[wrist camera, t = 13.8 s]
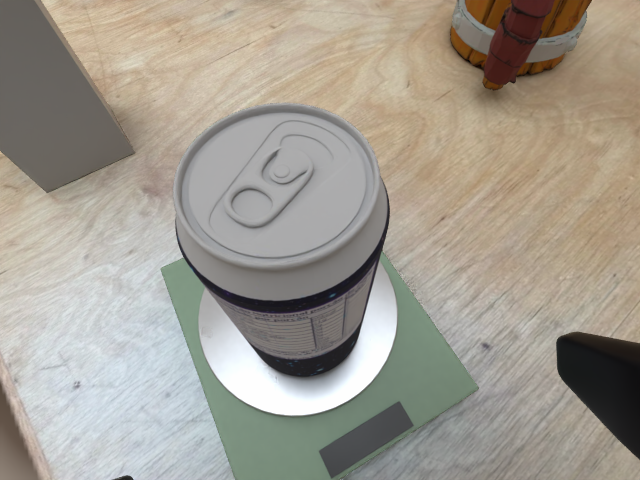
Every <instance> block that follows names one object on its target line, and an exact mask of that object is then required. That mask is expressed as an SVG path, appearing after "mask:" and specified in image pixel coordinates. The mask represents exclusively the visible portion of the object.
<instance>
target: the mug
mask: <svg viewBox="0 0 640 480" xmlns="http://www.w3.org/2000/svg"><path fill="white" fill-rule="evenodd" d="M591 1H592V0H457V3H456V6H455V9H454V12H453V21H452V23H453V25H452V28H451V32H450V35H451V42H452V44H453V47H454V48H455V49H456V50H457V51H458V53H459V54H460V55H461V56H462V57H463V58H464V59H468V60H470V62H471V63H472V64H473V65H475V66H477V65H481V67H482V68H483V69H484V78H483V84H484V86H485V88H488V89H492V90H498V89H501V88H502V87H503V85H504V84H507V83H508V82H512V83H515V82H516V76H519V75H525V74H526V72H527V71H528V72H529V73H530V74H536V73H540V72H543V70H544V68H545V69H552V68H553V67H555V66H556V65H557V64H558V63H560V62H561V61H562V59H563V57H564V55H565V53H566V52H569V51H572V50H573V49H574V47H575V46H576V43H577V39H578V37H579V35H580V34H581V32H582V30H583V28H584V26H585V23H586V21H587V20H586V18H587V12H586V9H587V8H588V6H589V4H590V3H591Z"/></svg>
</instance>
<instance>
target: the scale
mask: <svg viewBox="0 0 640 480" xmlns="http://www.w3.org/2000/svg"><path fill="white" fill-rule="evenodd" d="M161 272H162V275H163V277H164V280H165V283H166V286H167V289H168V291H169V294H170V297H171V300H172V303H173V306H174V308H175V311H176V314H177V317H178V320H179V322H180V325H181V328H182V331H183V334H184V337H185V339H186V342H187V345H188V348H189V351H190V353H191V356H192V359H193V362H194V365H195V368H196V370H197V373H198V376H199V379H200V382H201V384H202V387H203V390H204V393H205V396H206V398H207V401H208V404H209V407H210V410H211V413H212V415H213V418H214V421H215V424H216V427H217V429H218V432H219V435H220V438H221V441H222V444H223V446H224V449H225V452H226V455H227V458H228V460H229V463H230V466H231V469H232V472H233V475H234V477H235V480H339V479H341V478H342V477H344V476H345V475H347V474H349V473H350V472H352V471H353V470H355V469H356V468H358V467H359V466H361V465H362V464H364V463H366V462H367V461H369V460H370V459H372V458H373V457H375V456H376V455H378V454H379V453H381V452H383V451H384V450H386V449H387V448H389V447H390V446H392V445H393V444H395V443H396V442H398V441H400V440H401V439H403V438H404V437H406V436H407V435H409V434H410V433H412V432H413V431H415V430H417V429H418V428H420V427H421V426H423V425H424V424H426V423H427V422H429V421H430V420H432V419H434V418H435V417H437V416H438V415H440V414H441V413H443V412H444V411H446V410H447V409H449V408H451V407H452V406H454V405H455V404H457V403H458V402H460V401H461V400H463V399H464V398H466V397H468V396H469V395H471V394H472V393H474V392H475V391H477V390H478V389H479V387H478V386H477V384H476V383H475V382H474V380H473V379H472V377H471V376H470V374H469V373H468V372H467V370H466V369H465V367H464V366H463V365H462V363H461V362H460V360H459V359H458V357H457V356H456V355H455V353H454V352H453V350H452V349H451V348H450V346H449V345H448V343H447V342H446V341H445V339H444V338H443V336H442V335H441V333H440V332H439V331H438V329H437V328H436V326H435V325H434V324H433V322H432V321H431V319H430V318H429V316H428V315H427V314H426V312H425V311H424V309H423V308H422V307H421V305H420V304H419V302H418V301H417V299H416V298H415V297H414V295H413V294H412V292H411V291H410V290H409V288H408V287H407V285H406V284H405V282H404V281H403V280H402V278H401V277H400V275H399V274H398V273H397V271H396V270H395V268H394V267H393V265H392V264H391V263H390V261H389V260H388V258H387V257H386V256H385V254H384V253H383V251H382V252H381V256H380V260H379V263H378V267H377V271H376V275H375V278H374V282H373V286H372V289H371V293H370V297H369V301H368V304H367V308H366V312H365V316H364V319H363V323H362V327H361V330H360V334H359V337H358V340H357V342H356V344H355V346H354V348H353V350H352V351H351V353H350V354H349V355H348V356H347V358H346V359H345V360H344V361H343V362H341V363H340V364H339V365H338V366H336V367H335V368H333V369H331V370H329V371H327V372H325V373H323V374H319V375H315V376H309V377H296V376H290V375H286V374H283V373H281V372H279V371H277V370H275V369H273V368H271V367H270V366H269V365H267V364H266V363H265V362H264V361H263V360H262V359H261V358H260V357H259V355H258V354H257V353H256V352H255V350H254V349H253V348H252V347H251V345H250V344H249V343H248V341H247V340H246V339H245V338H244V336H243V335H242V334H241V332H240V331H239V330H238V329H237V327H236V326H235V325H234V323H233V322H232V321H231V320H230V318H229V317H228V316H227V314H226V313H225V312H224V311H223V309H222V308H221V307H220V305H219V304H218V303H217V302H216V300H215V299H214V298H213V296H212V295H211V294H210V293H209V291H208V290H207V289H206V287H205V286H204V285H203V284H202V282H201V281H200V280H199V278H198V277H197V276H196V275H195V273H194V272H193V271H192V269H191V268H190V267H189V265H188V264H187V262H186V260H185V259H184V258H182V259H180V260H178V261H176V262H173V263H171V264H169V265H167V266H165V267H162V268H161Z"/></svg>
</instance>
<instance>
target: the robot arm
mask: <svg viewBox="0 0 640 480" xmlns="http://www.w3.org/2000/svg"><path fill="white" fill-rule="evenodd" d="M556 349H557V369H558V373H559V375H560V377H561V379H562V380H563V381H564V382H565V384H566V385H567V386H568V387H569V388H570V389H571V390H572V391H573V392H574V393H575V394H576V395H577V396H578V397H579V398H580V399H581V401H582V402H583V403H584V404H585V405H586V406H587V407H588V408H589V409H590V410H591V411H592V412H593V413H594V414H595V415H596V417H597V418H598V419H599V420H600V421H601V422H602V423H603V424H604V425H605V426H606V427H607V428H608V429H609V430H610V431H611V432H612V434H613V435H614V436H615V437H616V438H617V439H618V440H619V441H620V442H621V443H622V444H623V445H624V446H626V447H627V448H628V449H629V450H630V451H631V452H632V453H633V454H634V455H635V456H636V457H637V458H638V459H639V460H640V343H635V342H630V341H624V340H619V339H614V338H609V337H603V336H598V335H593V334H587V333H582V332H572V333H569V334H566V335H563V336H560V337H559V338H558V339H557V342H556ZM113 480H133V478H132V477H131V476H128V475H126V476H122V477H119V478H116V479H113Z"/></svg>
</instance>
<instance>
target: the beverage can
mask: <svg viewBox="0 0 640 480" xmlns="http://www.w3.org/2000/svg"><path fill="white" fill-rule="evenodd" d="M173 200H174V206H175V210H176V220H175V223H176V236H177V240H178V244H179V247H180V250H181V252H182V255H183V257H184V259H185V260H186V262H187V264H188V265H189V267H190V268H191V269H192V271H193V272H194V273H195V275H196V276H197V277H198V278H199V280H200V281H201V282H202V284H203V285H204V286H205V287H206V289H207V290H208V291H209V293H210V294H211V295H212V296H213V298H214V299H215V300H216V302H217V303H218V304H219V305H220V307H221V308H222V309H223V311H224V312H225V313H226V314H227V316H228V317H229V318H230V320H231V321H232V322H233V323H234V325H235V326H236V327H237V329H238V330H239V331H240V332H241V334H242V335H243V336H244V338H245V339H246V340H247V341H248V343H249V344H250V345H251V347H252V348H253V349H254V350H255V352H256V353H257V354H258V355H259V357H260V358H261V359H262V360H263V361H264V362H265V363H266V364H267V365H269V366H270V367H271V368H273V369H275V370H277V371H279V372H281V373H283V374H286V375H290V376H296V377H309V376H315V375H319V374H323V373H325V372H327V371H329V370H331V369H333V368H335V367H336V366H338V365H339V364H340V363H341V362H343V361H344V360H345V359H346V358H347V356H348V355H349V354H350V353H351V351H352V350H353V348H354V346H355V344H356V342H357V340H358V337H359V334H360V330H361V327H362V323H363V319H364V316H365V312H366V308H367V304H368V301H369V297H370V293H371V289H372V286H373V282H374V278H375V275H376V271H377V267H378V263H379V260H380V256H381V252H382V248H383V245H384V241H385V237H386V234H387V229H388V225H389V216H390V208H389V199H388V194H387V190H386V187H385V185H384V182H383V180H382V178H381V176H380V170H379V165H378V161H377V159H376V156H375V153H374V151H373V149H372V147H371V146H370V144H369V142H368V141H367V139H366V138H365V137H364V136H363V135H362V133H361V132H360V131H359V130H358V129H357V128H355V127H354V126H353V125H352V124H351V123H349V122H348V121H346V120H345V119H343V118H341V117H340V116H338V115H336V114H334V113H331V112H329V111H327V110H324V109H321V108H317V107H314V106H310V105H304V104H297V103H270V104H264V105H257V106H254V107H250V108H246V109H243V110H240V111H238V112H235V113H232V114H230V115H228V116H226V117H224V118H222V119H220V120H219V121H217V122H215V123H214V124H213V125H211V126H210V127H208V128H207V129H206V130H205V131H203V132H202V133H201V134H200V135H199V136H198V137H197V138H196V139H195V140H194V141H193V142H192V144H191V145H190V146H189V147H188V148H187V150H186V152H185V153H184V155H183V157H182V158H181V160H180V162H179V165H178V167H177V170H176V173H175V178H174V183H173Z"/></svg>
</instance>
